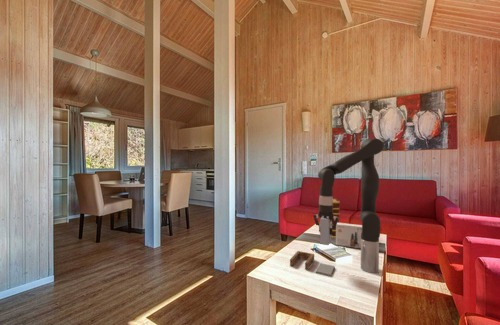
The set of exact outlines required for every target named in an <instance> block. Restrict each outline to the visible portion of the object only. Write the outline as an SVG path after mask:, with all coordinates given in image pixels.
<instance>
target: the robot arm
mask: <svg viewBox="0 0 500 325" xmlns="http://www.w3.org/2000/svg"><path fill="white" fill-rule="evenodd" d="M383 150H384V143H383V141H382V140H381V139H380V138H368V139H364V140H363V141H362V143H361V144H360V149H357V150H356V151H354V152H352V153H350V154H347V155H345V156H343V157H341V158H339V159H338V160H336V161H334V162H333V163H331V164H329V165H326V166H324V167H323V168H321V169H320V170H319V171H318V174H317V177H318V178H319V179H320V180H321V186H319V198H318V213H317V214H316V213H315V214H313V219H314V223H315V225H316V226H317V227H318V232H319V233H320V221H319V219H320V218H321V217H322V218H327V219H329V218H330V222H329V224H330V235H331V234H332V233H333V228H335V227H336V225H337V222H338V219H339V220H340V216H339V217H336V216H334V215H333V199H334V198H333V190H334V189H333V188H334V183H335V178H336V175H338V174H342V173H344V172H345V171H347V170H349V169H350V168H352V167H354V166H355V165H357V164H359V163H360V162H361V180H360V181H361V184H360V189H361V191H360V192H361V206H360V208H361V209H360V214H359V219H360V222H361V225H362V233H361V248H360V269H361V270H362V271H364V272H367V273H372V274H373V273H374V274H379V272H380V270H379V267H380V262H379V260H380V257H379V256H380V254H379V252H380V251H379V248H380V247H379V246H380V245H379V244H380V236H381V219H380V217H379V216H378V215H377V209H376V202H377V198H378V195H379V191H380V177H379V176H380V175H379V172H378V171H377V168H376V165H375V156H376V155H379V154H380V153H381V152H382V151H383ZM318 218H319V219H318ZM332 218H334V220H335V222H334V225H332V221H331V220H332Z"/></svg>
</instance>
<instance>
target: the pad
mask: <svg viewBox="0 0 500 325" xmlns="http://www.w3.org/2000/svg"><path fill="white" fill-rule="evenodd" d="M334 270H335V265H331V264H326V263H323V262H320V263H319V265H318V266H317V268H316V270H315V274H319V275H324V276H327V277H332V274H333V272H334Z"/></svg>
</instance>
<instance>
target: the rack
mask: <svg viewBox="0 0 500 325" xmlns="http://www.w3.org/2000/svg"><path fill="white" fill-rule="evenodd" d="M299 259H301V260H305V262H304V270H306V271H308V270H309V269H310V267H311V266H312V264H313V263H314V261H315V253H311V252H305V251H301V250H297V251H296V252H295V253H294V254H293V255H292V257H290V259H289V266H290V267H291V268H292V267H294V265H295V264H296V263H297V261H298V260H299Z"/></svg>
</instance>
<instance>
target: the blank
mask: <svg viewBox="0 0 500 325" xmlns="http://www.w3.org/2000/svg"><path fill="white" fill-rule="evenodd" d="M329 222H330V218H329V219H327V218H322V217H321V218H320V217H319V223H320V232H319V244H320V245H326V246H329V245H330V243H331V242H332V238H331V235H330V224H329Z"/></svg>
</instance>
